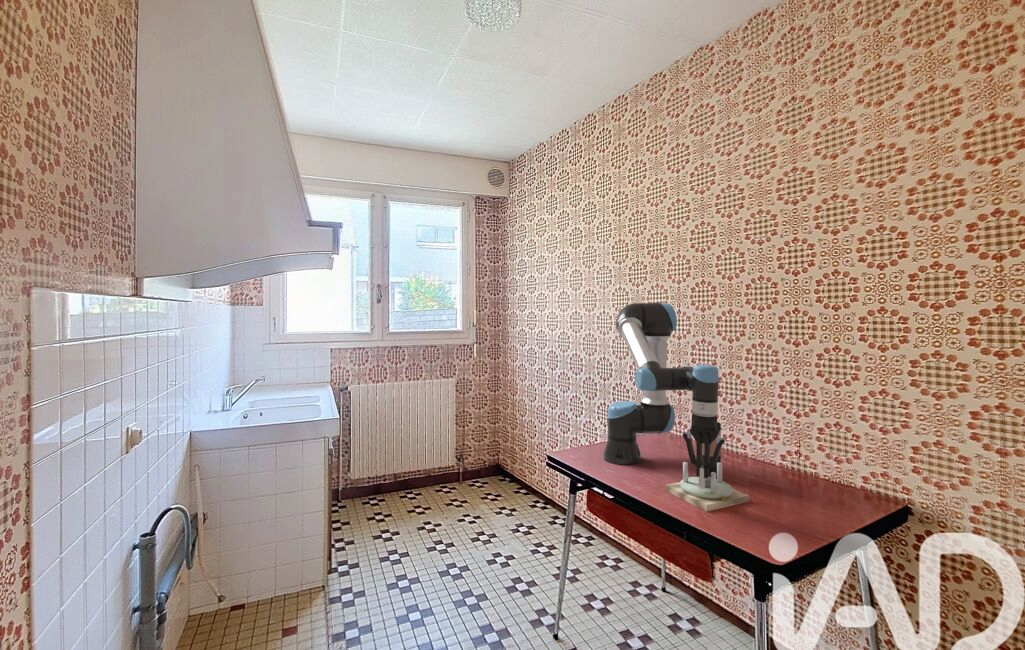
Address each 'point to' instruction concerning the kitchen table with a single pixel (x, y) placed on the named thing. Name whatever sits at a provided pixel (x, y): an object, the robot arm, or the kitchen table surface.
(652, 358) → the robot arm
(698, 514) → the kitchen table surface
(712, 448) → the travel mug
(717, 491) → the green peg holder
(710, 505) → the stand base
